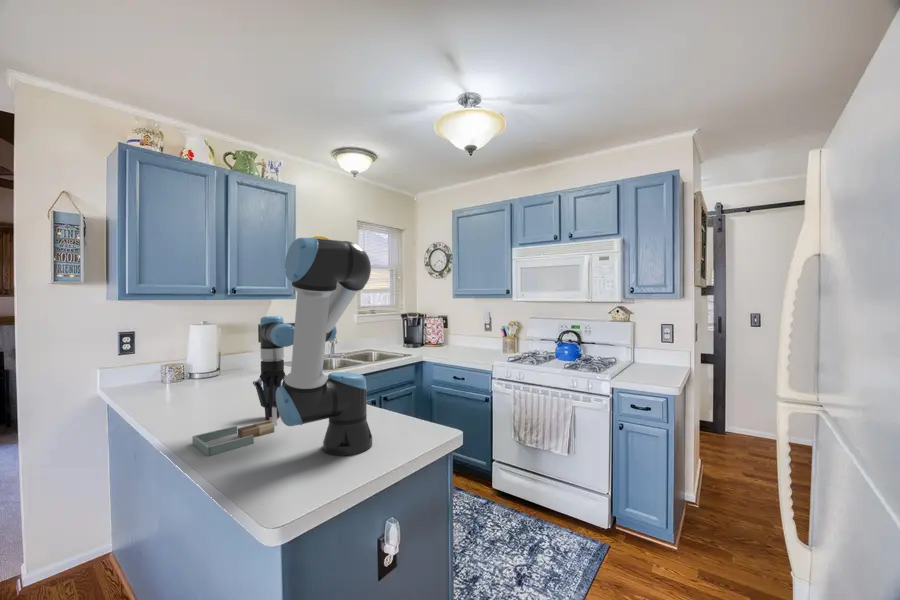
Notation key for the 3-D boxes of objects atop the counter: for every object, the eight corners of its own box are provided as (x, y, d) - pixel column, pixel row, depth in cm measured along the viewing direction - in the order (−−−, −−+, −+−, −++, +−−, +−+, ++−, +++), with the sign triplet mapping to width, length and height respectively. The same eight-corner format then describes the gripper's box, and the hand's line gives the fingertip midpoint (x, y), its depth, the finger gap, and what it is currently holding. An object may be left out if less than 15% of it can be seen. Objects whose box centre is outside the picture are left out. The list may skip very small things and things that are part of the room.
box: (253, 443, 124) (253, 435, 124) (207, 456, 114) (207, 447, 114) (236, 432, 134) (236, 425, 134) (192, 443, 124) (192, 436, 124)
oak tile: (274, 431, 134) (274, 423, 134) (259, 436, 130) (259, 427, 130) (267, 428, 138) (267, 420, 137) (253, 432, 134) (253, 424, 134)
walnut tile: (259, 436, 131) (259, 427, 131) (243, 440, 127) (243, 431, 127) (253, 433, 134) (253, 424, 134) (237, 437, 130) (237, 428, 130)
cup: (274, 421, 146) (274, 382, 146) (258, 420, 147) (258, 381, 147) (285, 415, 153) (285, 378, 152) (270, 414, 154) (270, 377, 154)
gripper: (285, 356, 143) (286, 418, 144) (248, 360, 134) (249, 427, 134) (295, 358, 138) (295, 422, 139) (257, 363, 129) (258, 432, 129)
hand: (273, 425), depth 136 cm, fingers closed
